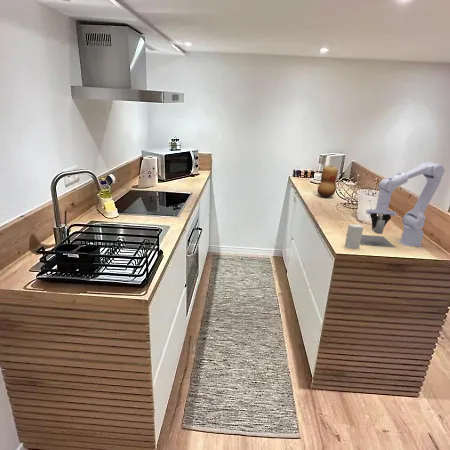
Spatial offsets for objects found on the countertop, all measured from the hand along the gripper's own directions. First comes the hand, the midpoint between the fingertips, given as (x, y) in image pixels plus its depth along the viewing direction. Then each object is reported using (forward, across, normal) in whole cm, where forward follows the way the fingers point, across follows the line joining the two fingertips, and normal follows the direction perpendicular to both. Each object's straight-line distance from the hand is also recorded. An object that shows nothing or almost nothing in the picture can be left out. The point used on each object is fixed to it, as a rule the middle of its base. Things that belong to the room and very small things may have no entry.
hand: (377, 227), depth 181 cm
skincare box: (+10, +14, +7) cm, 18 cm away
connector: (+2, 0, 0) cm, 2 cm away
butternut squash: (+10, +2, -99) cm, 99 cm away
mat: (+9, -1, -5) cm, 11 cm away
